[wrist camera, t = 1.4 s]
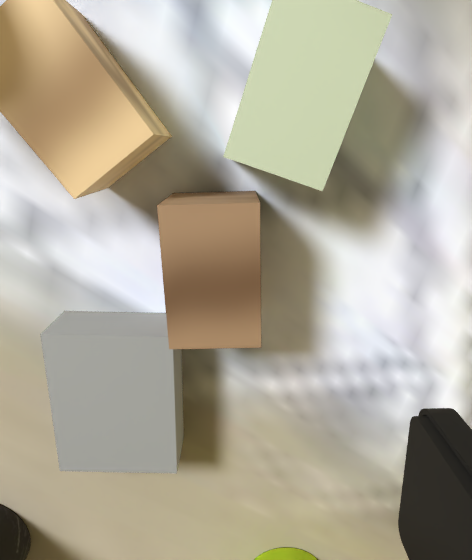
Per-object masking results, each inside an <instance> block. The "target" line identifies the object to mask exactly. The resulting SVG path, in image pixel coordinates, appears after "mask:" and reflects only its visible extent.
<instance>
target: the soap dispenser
mask: <svg viewBox="0 0 472 560" xmlns="http://www.w3.org/2000/svg"><path fill="white" fill-rule="evenodd" d="M254 560H317V559H316V558H315V557H314V556H313V555H311V554H310V553H308V552H306V551H303V550H300V549H296V548H276V549H272V550H269V551H267V552H264V553H262V554H261V555H259V556H258V557H257V558H255V559H254Z"/></svg>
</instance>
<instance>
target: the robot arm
mask: <svg viewBox="0 0 472 560" xmlns="http://www.w3.org/2000/svg"><path fill="white" fill-rule="evenodd" d="M398 525H399V533H400V537H401V541H402V543H403V546H404V548H405V551H406V553H407V555H408V558H409V560H472V430H471V428H470V427H469V426H468V425H467V424H466V422H465V421H464V420H463V419H462V418H461V416H460V415H459V414H458V413H457V412H456V411H455V410H454V409H451V408H438V409H422V410H421V411H420V413H419V416H414V417H412V419H411V421H410V428H409V437H408V445H407V453H406V461H405V470H404V478H403V486H402V495H401V503H400V511H399V520H398Z"/></svg>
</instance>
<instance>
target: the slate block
mask: <svg viewBox="0 0 472 560" xmlns="http://www.w3.org/2000/svg"><path fill="white" fill-rule="evenodd" d="M41 341H42V349H43V356H44V363H45V370H46V377H47V384H48V391H49V398H50V405H51V412H52V419H53V426H54V433H55V440H56V447H57V454H58V461H59V468H60V471H84V472H133V473H177V471H178V466H179V460H180V455H181V450H182V444H183V439H184V427H183V386H182V349H169V342H168V330H167V318H166V313H139V312H88V311H64V312H63V313H62V314H61V315H60V316H59V317H58V318H57V319H56V320H55V321H54V322H53V323H52V324H51V325H50V326H49V327H47V328H46V329H45V330H44V331H43V332H42V333H41Z"/></svg>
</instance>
